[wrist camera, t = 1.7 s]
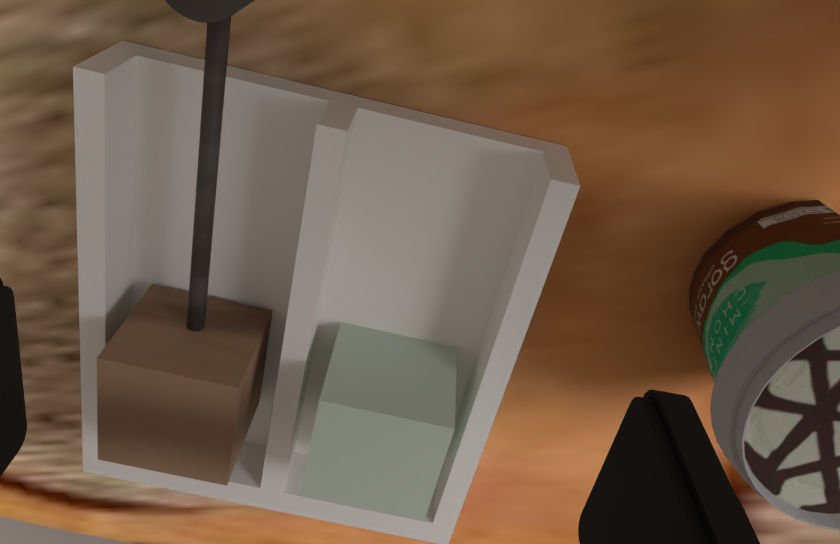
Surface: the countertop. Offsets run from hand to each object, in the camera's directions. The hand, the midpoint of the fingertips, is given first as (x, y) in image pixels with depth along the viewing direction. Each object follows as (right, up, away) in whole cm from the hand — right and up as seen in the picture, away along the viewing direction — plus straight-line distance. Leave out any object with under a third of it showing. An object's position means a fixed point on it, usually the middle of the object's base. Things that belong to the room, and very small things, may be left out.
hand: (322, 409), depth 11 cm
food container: (+17, +1, +25) cm, 30 cm away
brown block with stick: (-7, +6, +21) cm, 23 cm away
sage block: (0, -4, +27) cm, 27 cm away
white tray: (-4, +1, +26) cm, 27 cm away
